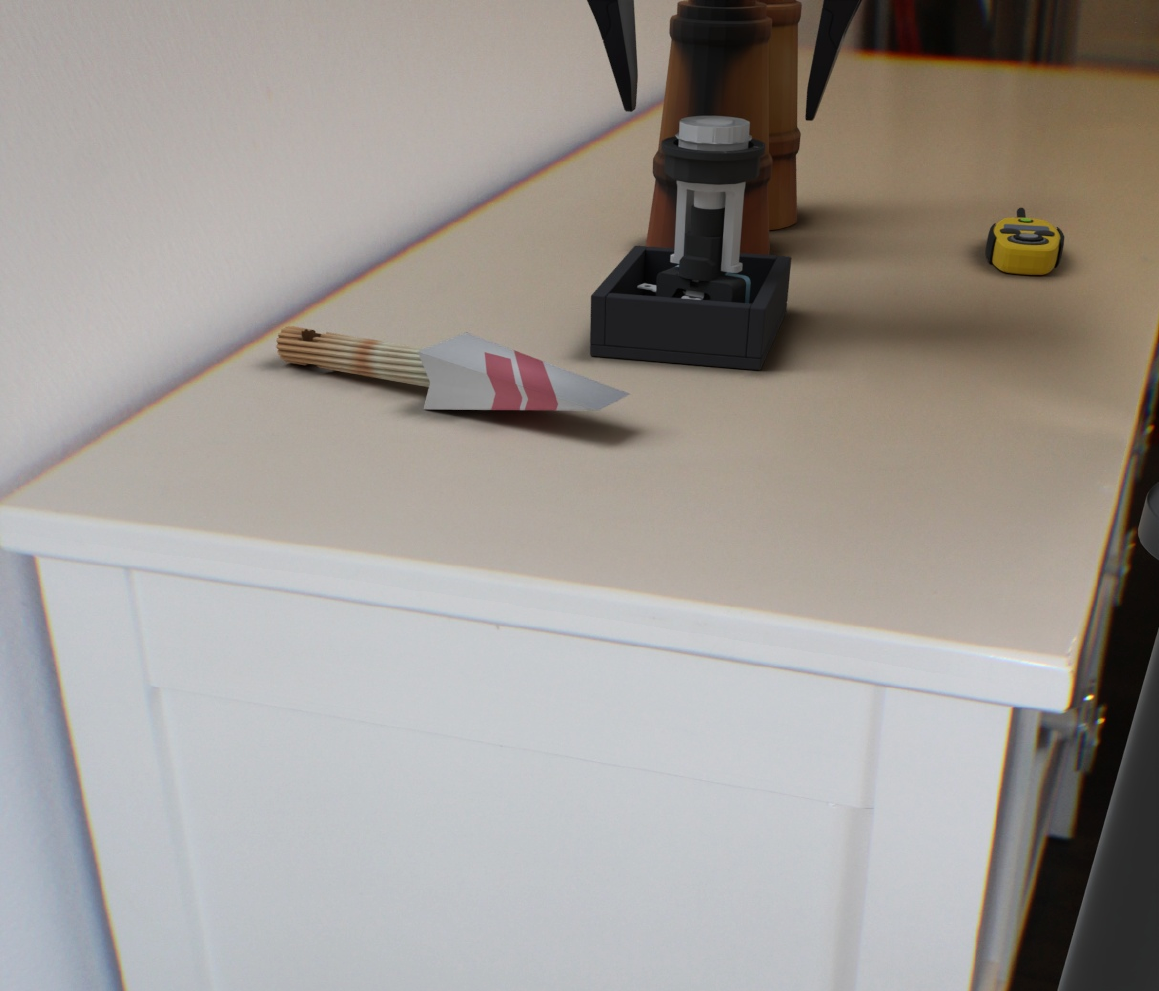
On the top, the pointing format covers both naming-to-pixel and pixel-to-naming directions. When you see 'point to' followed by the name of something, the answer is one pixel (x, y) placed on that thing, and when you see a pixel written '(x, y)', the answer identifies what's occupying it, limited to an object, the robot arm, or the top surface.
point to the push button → (709, 208)
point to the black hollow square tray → (687, 314)
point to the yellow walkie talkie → (1024, 245)
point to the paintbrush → (453, 371)
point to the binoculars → (735, 104)
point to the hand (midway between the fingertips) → (719, 115)
